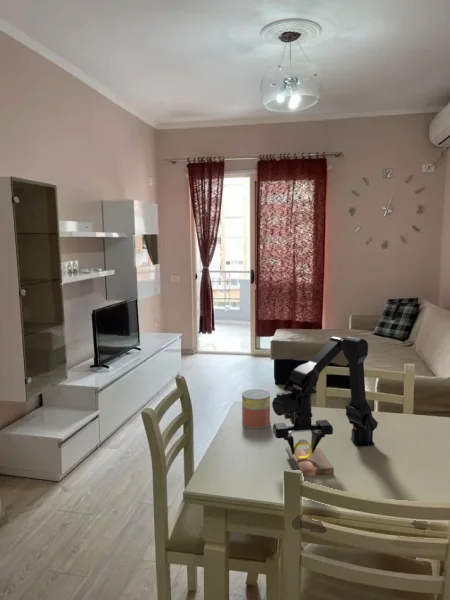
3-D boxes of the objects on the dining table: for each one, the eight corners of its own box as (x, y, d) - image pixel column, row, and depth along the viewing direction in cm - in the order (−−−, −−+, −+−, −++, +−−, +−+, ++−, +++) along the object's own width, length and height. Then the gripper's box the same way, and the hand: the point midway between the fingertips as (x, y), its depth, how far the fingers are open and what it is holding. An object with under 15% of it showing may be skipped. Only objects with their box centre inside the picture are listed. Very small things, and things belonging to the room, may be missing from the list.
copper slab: (319, 453, 158) (319, 445, 158) (333, 474, 145) (333, 465, 144) (285, 455, 157) (285, 447, 157) (296, 476, 143) (296, 467, 143)
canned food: (244, 416, 192) (244, 388, 190) (271, 418, 189) (271, 390, 188) (239, 427, 181) (239, 398, 179) (268, 429, 178) (268, 399, 177)
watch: (309, 456, 152) (311, 439, 151) (312, 460, 149) (314, 442, 149) (292, 456, 151) (293, 439, 150) (294, 460, 148) (296, 443, 148)
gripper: (322, 397, 157) (322, 440, 159) (268, 401, 155) (269, 444, 157) (333, 409, 146) (333, 455, 148) (276, 413, 144) (276, 460, 146)
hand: (302, 453), depth 150 cm, fingers closed on watch, 6 cm apart
